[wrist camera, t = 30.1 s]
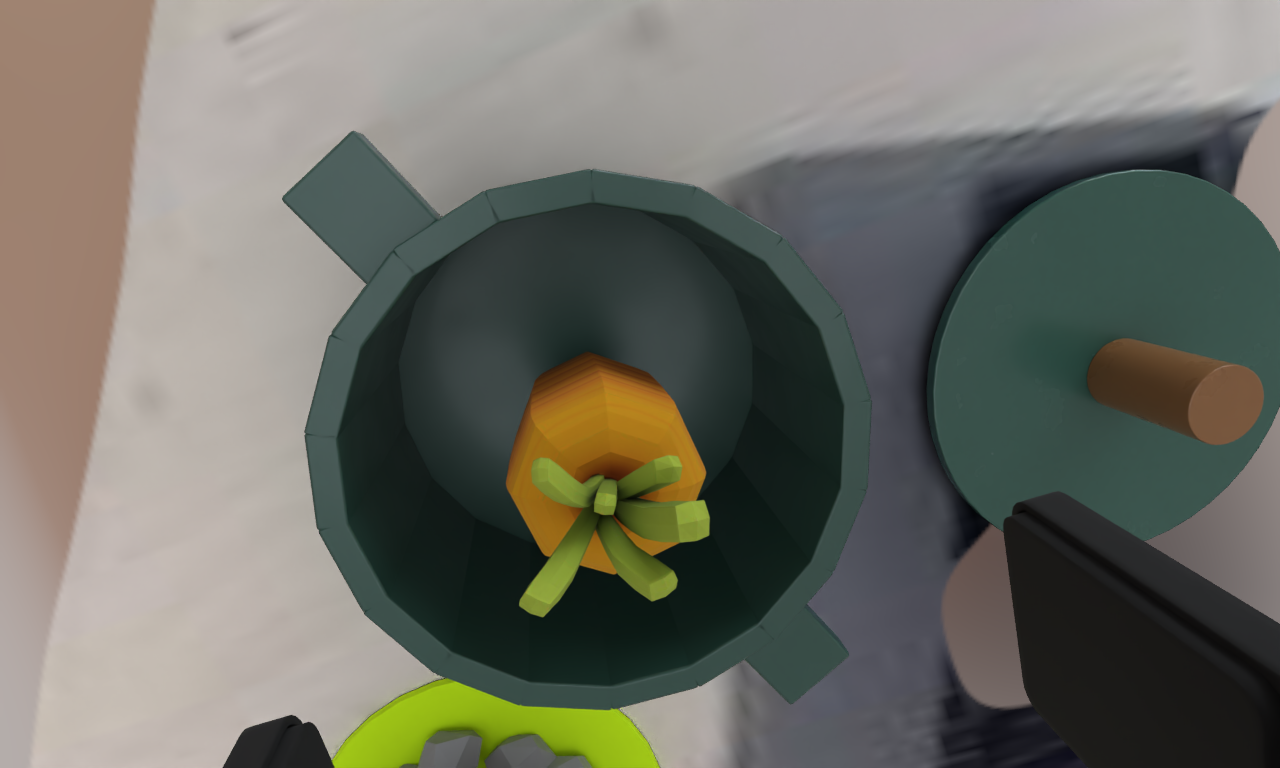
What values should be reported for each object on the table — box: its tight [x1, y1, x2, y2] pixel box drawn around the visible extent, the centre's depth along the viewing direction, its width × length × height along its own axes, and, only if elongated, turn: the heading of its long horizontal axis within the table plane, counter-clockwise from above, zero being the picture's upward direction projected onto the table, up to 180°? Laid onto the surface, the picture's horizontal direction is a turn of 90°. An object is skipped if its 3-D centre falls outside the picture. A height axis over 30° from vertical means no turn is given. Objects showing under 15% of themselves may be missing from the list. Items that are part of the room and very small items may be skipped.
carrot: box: [506, 352, 710, 617], centre depth 22 cm, size 5×5×15 cm
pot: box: [282, 131, 872, 710], centre depth 25 cm, size 15×20×10 cm
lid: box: [927, 170, 1280, 541], centre depth 29 cm, size 16×16×6 cm
